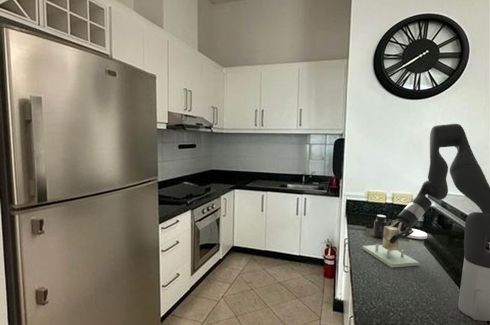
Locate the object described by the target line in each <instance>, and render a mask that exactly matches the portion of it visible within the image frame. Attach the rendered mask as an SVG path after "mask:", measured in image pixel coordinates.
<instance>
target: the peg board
mask: <svg viewBox="0 0 490 325" xmlns="http://www.w3.org/2000/svg"><path fill="white" fill-rule="evenodd" d="M382 245H383V244H372V245H362V250H363V251H366V252H367V253H368V254H369V255H371V256H372V257H374V258H376V259H377V260H379V261H381V262H382V263H384V264H385V265H387V266H388V267H389V268H404V267H416V266H417V267H418V266H419V265H420V262H419V261H417V260H415V259H414V258H412V257H410V256H408V255H406V254H405V250H404V249H401V250H400V251H399V250H398V249H397V250H392V251H389V250H387V249H385V248H383V247H382Z"/></svg>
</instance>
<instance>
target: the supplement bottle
mask: <svg viewBox="0 0 490 325" xmlns="http://www.w3.org/2000/svg"><path fill="white" fill-rule="evenodd" d="M387 222H388V220H387V216H386V215H383V214H377V215H376V219H375V220H374V223H373V233H372V234H373V236H374V237H375V238H377V239H383V238H382V235H383V234H384V226H386V224H387Z"/></svg>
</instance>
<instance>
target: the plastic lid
mask: <svg viewBox="0 0 490 325" xmlns="http://www.w3.org/2000/svg"><path fill="white" fill-rule="evenodd" d="M410 228H411V229H412V230H413V231H414V232H413V233H412V234H410V235H409V236H407V237H406V238H409V239H416V240H426V239H428V233H427V232H425V231H423V230H420V229H416V228H413V227H410ZM404 235H405V234H404ZM404 235H403V236H404Z"/></svg>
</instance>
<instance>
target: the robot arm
mask: <svg viewBox="0 0 490 325" xmlns="http://www.w3.org/2000/svg"><path fill="white" fill-rule="evenodd" d="M429 133H430V134H429V168H428V173H427V174H428V175H427V179H428V180H426V181H424V182H423V183H422V185H421V187H420V190H419V191H418V193H417V194H416V196H415V198H414V199H412V200H411V201H410V203H409V204H407V205H406V206H405V207H404V208H403V210H402V211H401V212H400V213H399V214H398V215H397V217H396V219H394V220H392V218H389V219H388V220H387V224H386V226H392V227H396V228H397V229H398V230H397V232H396V234H395V235H394V236H393V237H392V238H391V239H390V240H389V241H390V242H391V243H392V244H393V243H395V242H396V241H397V240H398V241H399V240H400V239H402V240H404V239H406V238H408V237H407V236H409V235H410V234H412V233H413V232H414V231H413V230H412V229H413V227H414V226H415V224H416V223H417V222H418V221H419V220H420V219H421V218H422V217H423V216H424V215H425V213H426V212H427V211H428V210H429V209H430V208H431V206H432V204H433V202H432V201H431V199H430V198H429V197H431V198H433V199H435V200H438V201H441V200H444V199H446V198H447V195H448V194H449V188H448V182H447V176H448V171H449V174H450V177H451V179H452V182H453V184H454V186H455V188H456V189H457V190H458V191H459V192H460V193H461V194H463V195H464V197H466V198H468V199H469V200H470V201H472V202H473V203H474V204H475V205H476V206H477V207H478V209H480V211H481V212H478V211H477V212H476V211H472V212H469V214H468V215H467V216H466V219H465V223H464V224H465V225H464V235H463V236H464V237H463V238H464V239H463V251H464V255H463V256H464V258H463V265H462V272H461V280H460V289H459V298H458V303H457V304H458V305H457V307H458V310H459V311H460V312H461V313H463V314H464V315H465V316H468V317H470V318H471V319H473V321H480V322H487V321H490V250H488V249H486V244H487V243H489V244H490V185H489V182H488V180H487V178H486V175H485V173H484V171H483V170H482V167H481V166H480V164H479V163H478V161H477V158H476V156H475V154H474V152H473V151H472V148H471V145H470V143H469V140H468V138H467V134H466V132H465V129H464V128H463V126H462V125H461V124H459V123H450V124H448V123H447V124H439V125H435V126H432V127H431V129H430V132H429ZM453 147H455V148H456V150H457V151H456V155H455V157H454V158H453V160H452V162H451V164H450V165H449V166H450V167H449V166H448V163H447V161H446V160H445V158H444V157H443V156H442V155H441V153H440V148H453ZM426 195H427V196H429V197H427V196H426ZM411 228H412V229H411ZM404 234H405V235H404ZM381 239H383V235H382V238H381Z"/></svg>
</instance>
